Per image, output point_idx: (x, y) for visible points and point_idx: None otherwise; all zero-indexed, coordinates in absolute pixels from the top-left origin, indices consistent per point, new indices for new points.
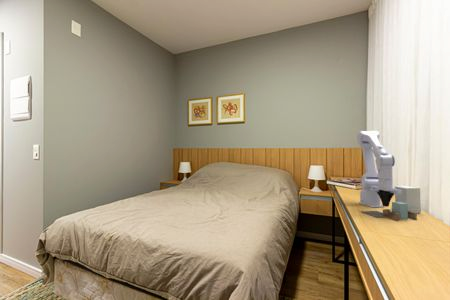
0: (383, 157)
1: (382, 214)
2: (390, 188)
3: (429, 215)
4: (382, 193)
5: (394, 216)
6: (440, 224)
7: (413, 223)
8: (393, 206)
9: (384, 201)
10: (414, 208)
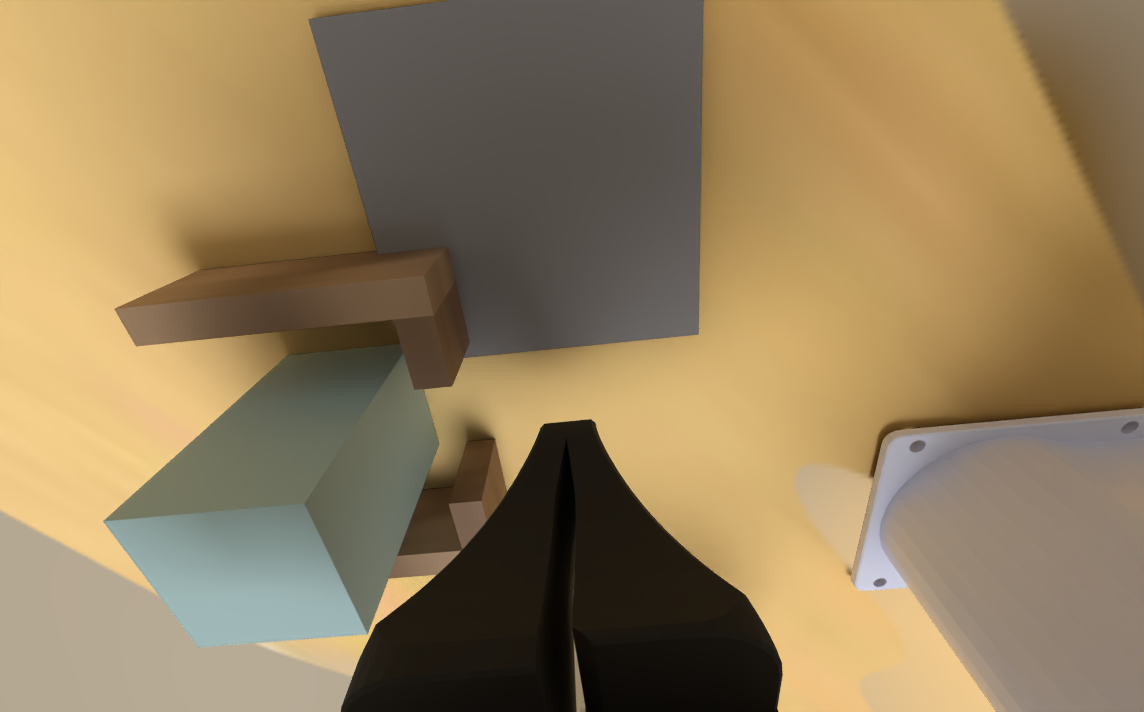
0: None
1: (478, 265)
2: None
3: None
4: (476, 632)
5: (225, 280)
6: None
7: (127, 374)
8: (310, 445)
9: (529, 478)
10: None
